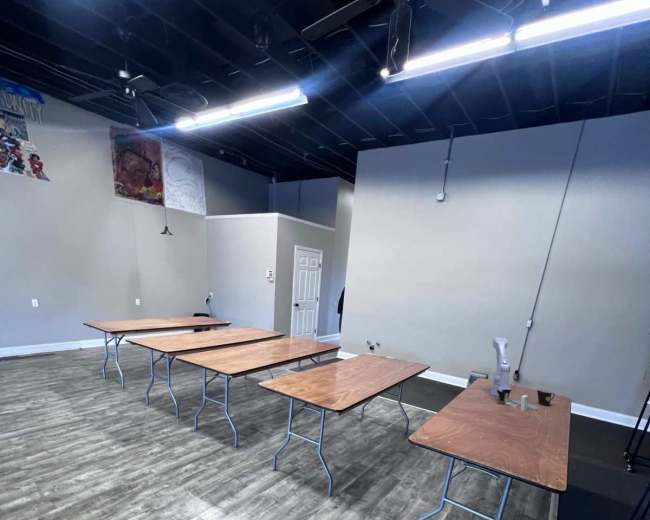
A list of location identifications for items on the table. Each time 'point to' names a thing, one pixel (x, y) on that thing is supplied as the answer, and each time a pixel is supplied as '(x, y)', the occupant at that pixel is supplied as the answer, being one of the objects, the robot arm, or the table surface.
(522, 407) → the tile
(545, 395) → the coffee mug
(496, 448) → the table surface
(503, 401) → the turner
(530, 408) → the mat
